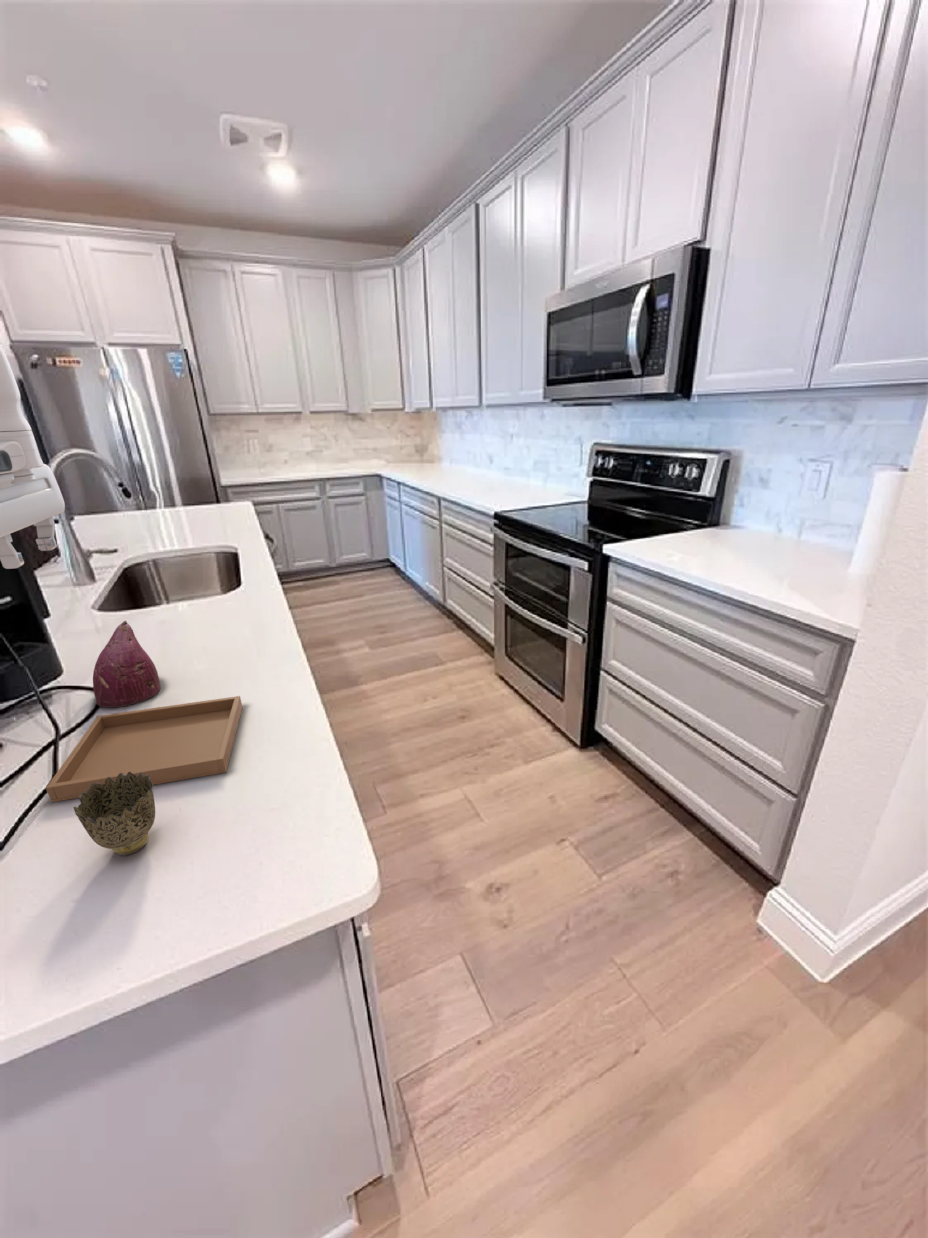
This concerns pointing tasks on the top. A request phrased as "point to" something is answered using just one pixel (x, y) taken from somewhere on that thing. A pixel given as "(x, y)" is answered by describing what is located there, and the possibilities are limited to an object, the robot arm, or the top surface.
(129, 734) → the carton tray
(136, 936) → the top surface
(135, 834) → the cup
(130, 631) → the vegetable
